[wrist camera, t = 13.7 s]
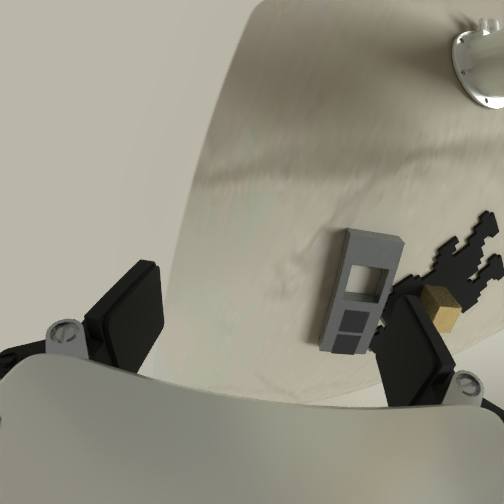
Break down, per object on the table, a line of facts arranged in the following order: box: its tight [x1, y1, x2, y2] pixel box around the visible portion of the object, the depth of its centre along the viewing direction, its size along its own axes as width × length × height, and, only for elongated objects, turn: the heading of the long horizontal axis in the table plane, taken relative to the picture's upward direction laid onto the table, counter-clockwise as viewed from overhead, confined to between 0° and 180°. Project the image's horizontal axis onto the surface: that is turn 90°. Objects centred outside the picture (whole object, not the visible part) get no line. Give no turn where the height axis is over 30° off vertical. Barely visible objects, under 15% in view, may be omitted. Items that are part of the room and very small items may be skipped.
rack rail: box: [319, 228, 405, 355], centre depth 40 cm, size 20×8×3 cm, turn 175°
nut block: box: [419, 284, 462, 333], centre depth 37 cm, size 4×4×7 cm
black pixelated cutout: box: [369, 210, 504, 354], centre depth 39 cm, size 16×1×30 cm
